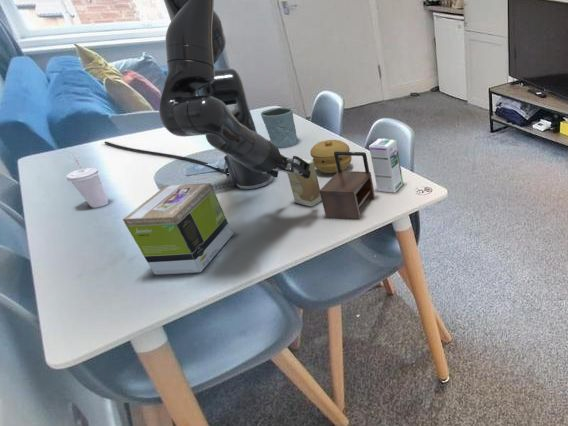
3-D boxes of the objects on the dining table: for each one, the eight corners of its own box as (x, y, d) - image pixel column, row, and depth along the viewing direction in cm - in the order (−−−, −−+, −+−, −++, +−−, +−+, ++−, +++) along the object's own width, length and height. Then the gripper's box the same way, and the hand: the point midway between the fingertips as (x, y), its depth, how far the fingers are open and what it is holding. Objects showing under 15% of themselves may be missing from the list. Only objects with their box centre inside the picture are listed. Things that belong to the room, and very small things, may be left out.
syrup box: (395, 193, 124) (388, 146, 116) (376, 191, 125) (368, 144, 117) (403, 184, 128) (397, 139, 121) (385, 182, 129) (377, 137, 122)
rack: (326, 217, 112) (313, 169, 105) (344, 195, 122) (334, 150, 115) (359, 219, 111) (348, 170, 104) (375, 197, 122) (366, 151, 114)
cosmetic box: (294, 202, 119) (282, 162, 112) (306, 196, 122) (295, 156, 116) (312, 207, 116) (301, 166, 110) (324, 200, 120) (313, 160, 114)
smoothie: (120, 200, 119) (95, 154, 112) (94, 211, 114) (66, 164, 107) (104, 197, 121) (79, 151, 114) (78, 208, 116) (50, 160, 109)
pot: (328, 181, 130) (321, 150, 125) (307, 171, 136) (299, 141, 131) (361, 168, 138) (355, 139, 133) (340, 159, 144) (333, 131, 139)
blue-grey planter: (270, 150, 151) (260, 117, 145) (269, 140, 159) (260, 109, 153) (301, 145, 155) (292, 113, 149) (299, 136, 163) (291, 105, 157)
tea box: (191, 237, 104) (166, 183, 96) (234, 235, 105) (213, 181, 97) (152, 276, 91) (119, 217, 83) (201, 273, 92) (173, 215, 84)
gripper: (286, 135, 95) (321, 161, 111) (225, 133, 96) (268, 160, 112) (279, 167, 93) (316, 189, 109) (218, 165, 94) (263, 187, 110)
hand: (292, 174), depth 111 cm, fingers open, 8 cm apart
